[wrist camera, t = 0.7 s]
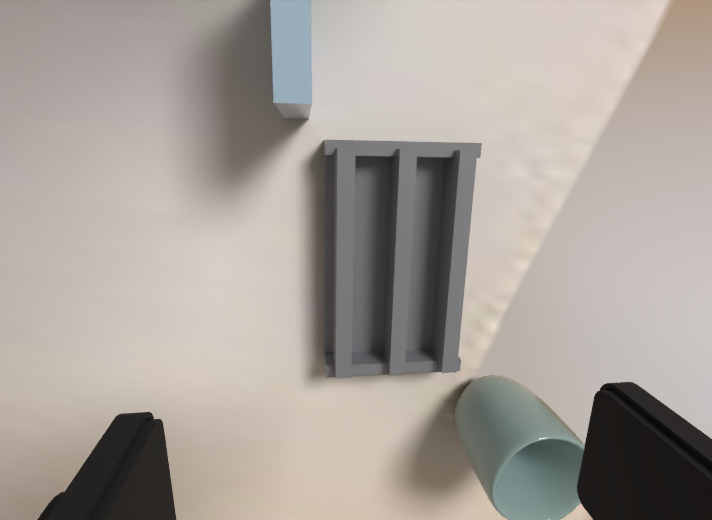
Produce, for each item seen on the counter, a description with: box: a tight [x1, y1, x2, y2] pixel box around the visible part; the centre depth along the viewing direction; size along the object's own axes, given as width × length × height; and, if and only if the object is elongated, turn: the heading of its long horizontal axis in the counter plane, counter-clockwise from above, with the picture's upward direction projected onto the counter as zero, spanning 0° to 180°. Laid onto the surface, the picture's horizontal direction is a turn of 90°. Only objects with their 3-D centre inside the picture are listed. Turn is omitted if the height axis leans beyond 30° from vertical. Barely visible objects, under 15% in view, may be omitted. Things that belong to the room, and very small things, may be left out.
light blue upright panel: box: [270, 0, 312, 119], centre depth 24 cm, size 9×2×11 cm, turn 0°
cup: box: [455, 375, 585, 520], centre depth 34 cm, size 8×8×10 cm
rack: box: [324, 140, 482, 378], centre depth 32 cm, size 18×11×4 cm, turn 0°
